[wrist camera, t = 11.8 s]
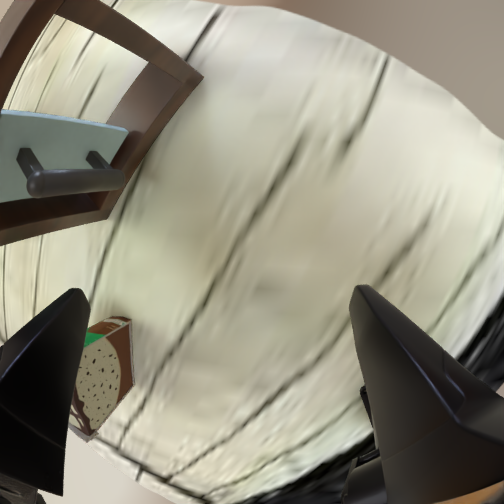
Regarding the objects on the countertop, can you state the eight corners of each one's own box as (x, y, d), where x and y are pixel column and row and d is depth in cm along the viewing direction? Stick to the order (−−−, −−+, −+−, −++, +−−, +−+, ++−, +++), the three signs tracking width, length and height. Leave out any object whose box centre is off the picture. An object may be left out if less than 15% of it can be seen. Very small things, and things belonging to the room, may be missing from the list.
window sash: (124, 127, 18) (-1, 108, 7) (159, 159, 18) (20, 150, 7) (91, 186, 20) (-26, 200, 9) (121, 220, 19) (-4, 253, 9)
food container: (87, 287, 25) (16, 323, 16) (131, 306, 24) (57, 357, 15) (97, 371, 28) (48, 414, 19) (135, 393, 27) (88, 445, 18)
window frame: (169, 56, 18) (31, -24, 3) (204, 77, 18) (54, -24, 3) (83, 191, 23) (-57, 213, 8) (107, 219, 23) (-45, 261, 8)
